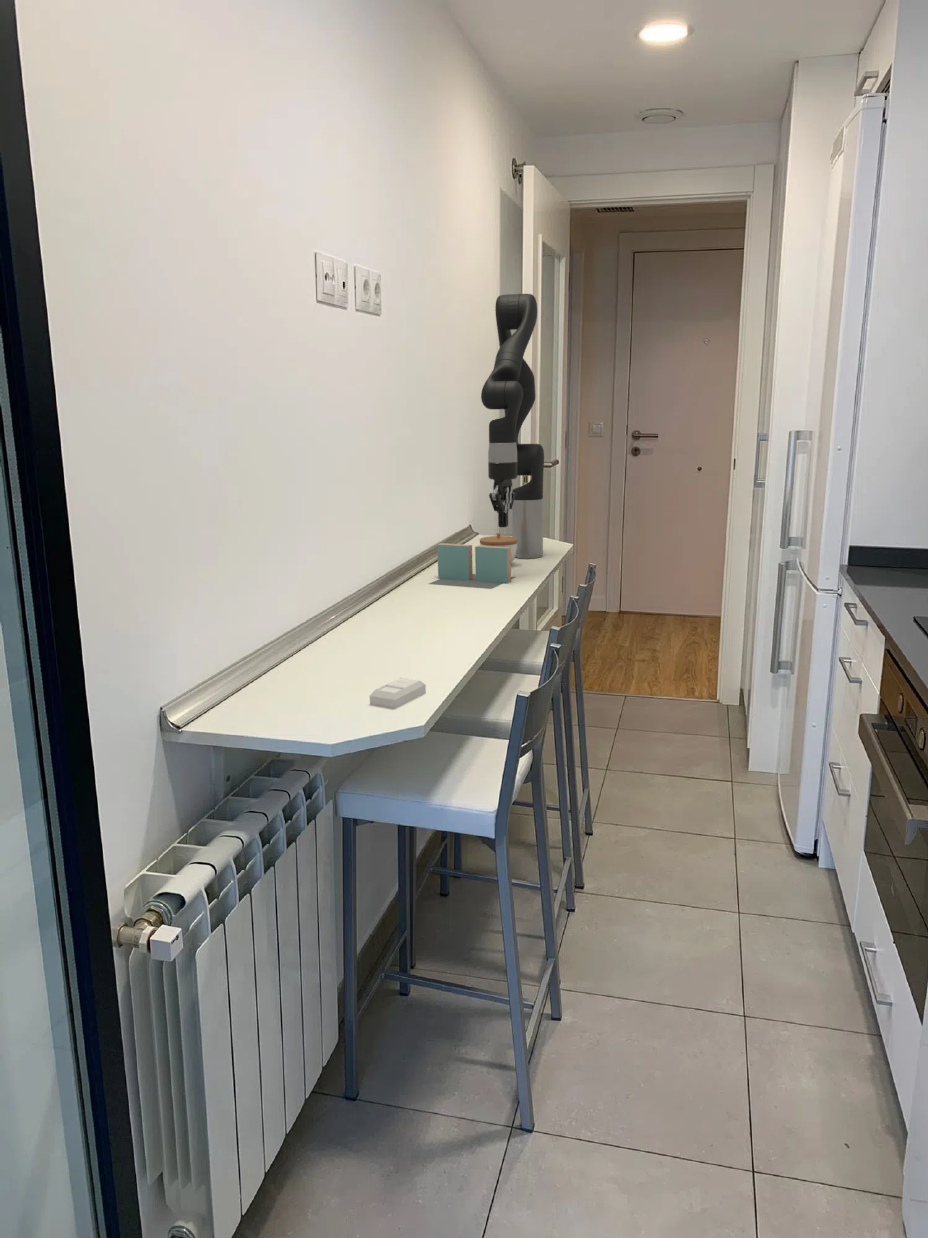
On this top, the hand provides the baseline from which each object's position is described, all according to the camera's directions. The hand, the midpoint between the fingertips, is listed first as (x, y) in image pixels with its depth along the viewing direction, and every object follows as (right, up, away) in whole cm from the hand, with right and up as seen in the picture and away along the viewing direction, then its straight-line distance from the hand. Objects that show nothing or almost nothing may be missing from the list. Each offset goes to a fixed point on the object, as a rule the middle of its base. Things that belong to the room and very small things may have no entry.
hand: (503, 526), depth 249 cm
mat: (-8, -15, -1) cm, 17 cm away
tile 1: (-13, -13, +2) cm, 19 cm away
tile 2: (-3, -14, -3) cm, 15 cm away
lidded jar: (0, -9, +21) cm, 23 cm away
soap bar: (-21, -38, -94) cm, 103 cm away
